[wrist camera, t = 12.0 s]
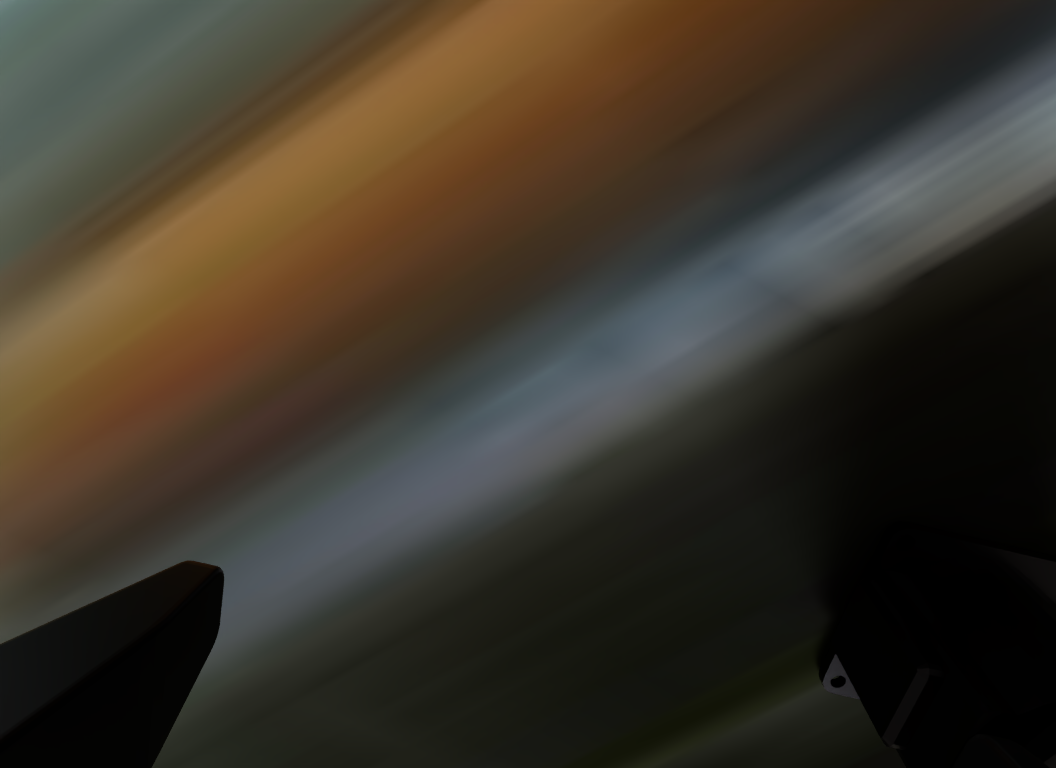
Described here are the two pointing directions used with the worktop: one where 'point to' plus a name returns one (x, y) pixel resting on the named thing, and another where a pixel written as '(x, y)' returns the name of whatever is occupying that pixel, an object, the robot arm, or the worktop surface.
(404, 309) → the worktop surface
